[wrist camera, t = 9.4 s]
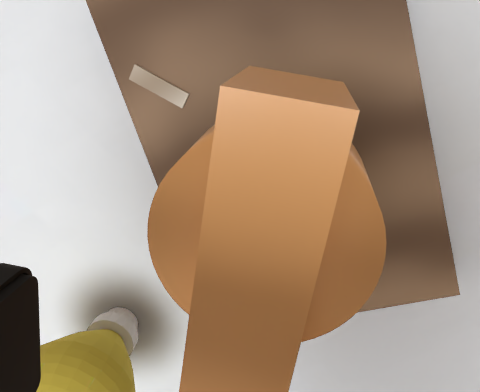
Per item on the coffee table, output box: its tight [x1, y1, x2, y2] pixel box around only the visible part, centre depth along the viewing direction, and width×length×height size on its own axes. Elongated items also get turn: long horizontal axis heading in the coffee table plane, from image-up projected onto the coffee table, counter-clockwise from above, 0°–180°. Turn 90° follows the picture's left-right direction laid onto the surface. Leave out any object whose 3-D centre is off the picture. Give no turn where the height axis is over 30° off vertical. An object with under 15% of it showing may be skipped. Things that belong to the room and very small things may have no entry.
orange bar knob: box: [148, 66, 387, 392], centre depth 13 cm, size 11×7×8 cm, turn 172°
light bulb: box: [36, 307, 138, 392], centre depth 26 cm, size 7×7×10 cm
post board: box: [86, 0, 460, 312], centre depth 21 cm, size 20×14×8 cm
